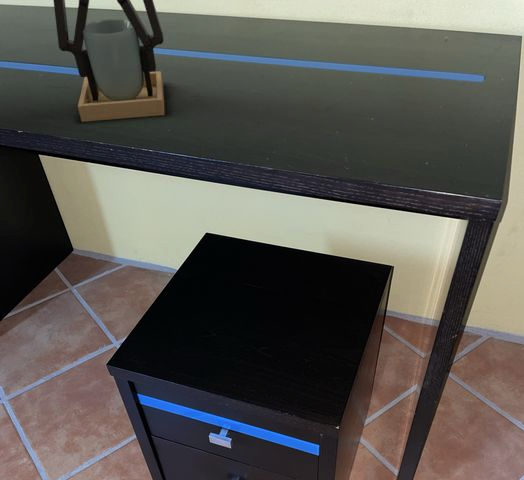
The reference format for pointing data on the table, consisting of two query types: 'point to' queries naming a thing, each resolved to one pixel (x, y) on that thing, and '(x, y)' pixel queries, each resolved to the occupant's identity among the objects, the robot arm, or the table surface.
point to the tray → (122, 103)
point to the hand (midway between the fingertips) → (123, 95)
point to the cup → (115, 58)
